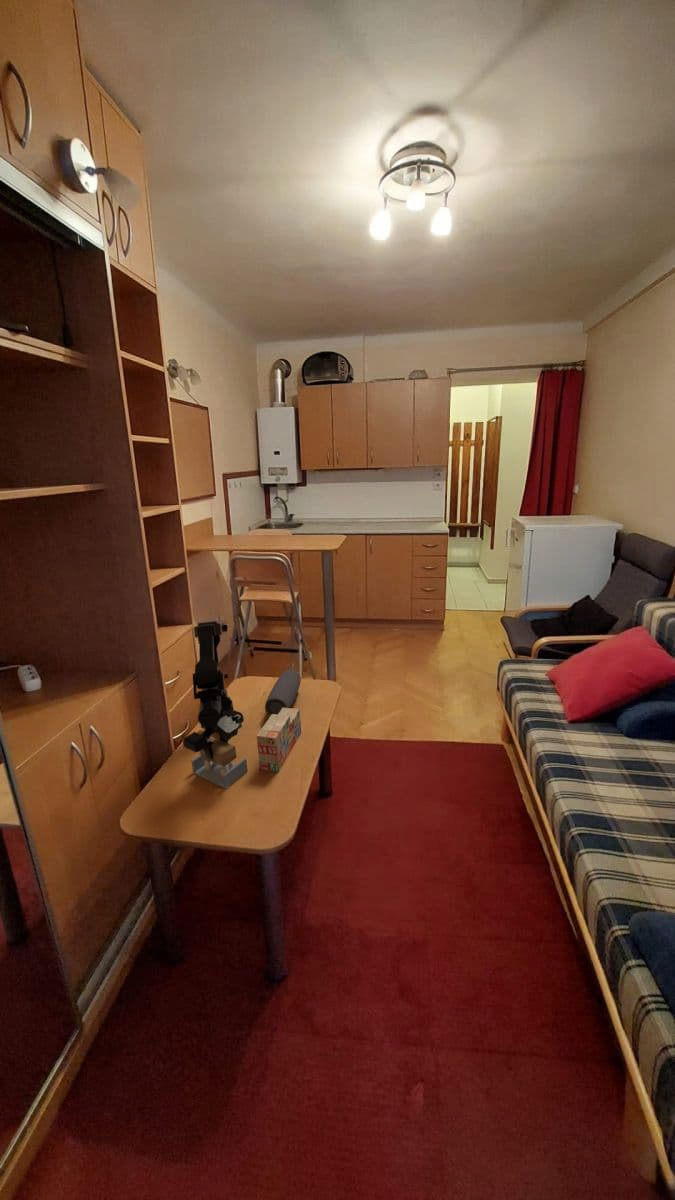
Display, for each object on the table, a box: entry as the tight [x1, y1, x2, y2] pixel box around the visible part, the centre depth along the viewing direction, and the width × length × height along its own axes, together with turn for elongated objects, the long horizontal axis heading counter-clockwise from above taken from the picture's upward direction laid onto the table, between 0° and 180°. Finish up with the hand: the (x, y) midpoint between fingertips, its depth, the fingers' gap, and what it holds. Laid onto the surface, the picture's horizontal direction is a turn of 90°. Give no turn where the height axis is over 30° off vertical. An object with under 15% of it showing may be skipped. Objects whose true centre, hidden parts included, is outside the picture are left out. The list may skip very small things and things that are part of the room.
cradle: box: [190, 754, 249, 790], centre depth 140 cm, size 14×9×4 cm, turn 57°
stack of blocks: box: [256, 707, 302, 773], centre depth 148 cm, size 21×6×12 cm, turn 166°
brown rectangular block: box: [199, 736, 237, 767], centre depth 139 cm, size 10×5×4 cm, turn 57°
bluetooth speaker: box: [264, 669, 302, 717], centre depth 176 cm, size 23×9×10 cm, turn 172°
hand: (217, 753), depth 139 cm, fingers closed on brown rectangular block, 5 cm apart
